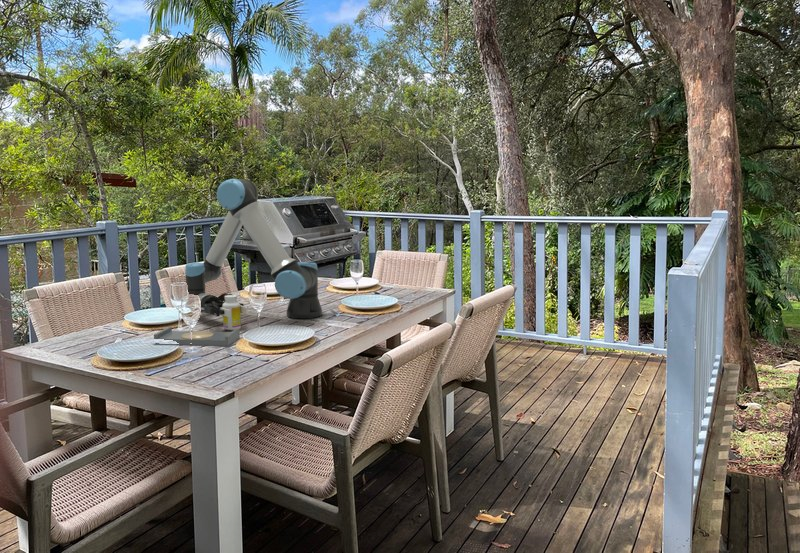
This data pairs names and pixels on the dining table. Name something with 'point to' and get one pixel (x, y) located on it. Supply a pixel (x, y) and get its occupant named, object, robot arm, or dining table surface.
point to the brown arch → (223, 296)
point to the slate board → (199, 337)
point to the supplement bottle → (232, 313)
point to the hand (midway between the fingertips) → (238, 312)
